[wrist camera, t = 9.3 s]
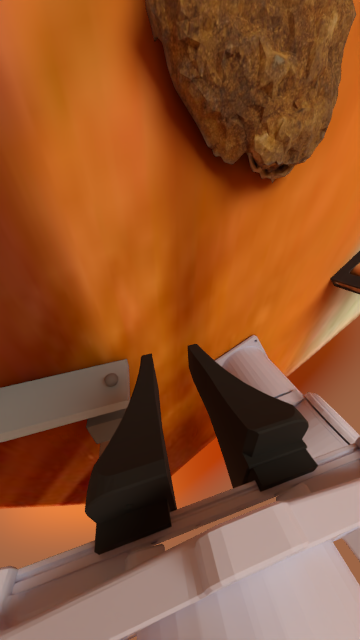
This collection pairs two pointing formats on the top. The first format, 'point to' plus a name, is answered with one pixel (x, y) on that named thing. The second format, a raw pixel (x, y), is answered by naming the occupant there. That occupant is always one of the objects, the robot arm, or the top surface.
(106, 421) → the doorstop wedge
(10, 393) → the door
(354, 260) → the ammunition clip
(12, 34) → the top surface
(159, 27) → the decorative rock
